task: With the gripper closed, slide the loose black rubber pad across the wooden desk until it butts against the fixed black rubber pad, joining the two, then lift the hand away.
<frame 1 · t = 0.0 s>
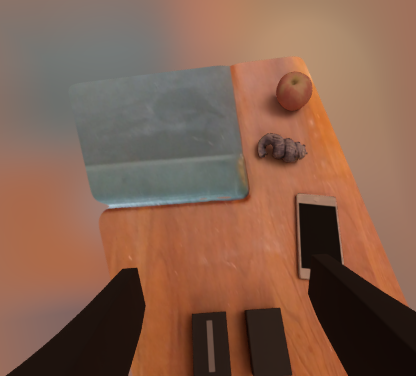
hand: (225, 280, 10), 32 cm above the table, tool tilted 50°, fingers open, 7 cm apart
smartphone: (317, 235, 43), on the table
pad: (264, 339, 36), on the table
apple: (288, 106, 58), on the table
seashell: (279, 155, 52), on the table
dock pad: (211, 342, 36), on the table
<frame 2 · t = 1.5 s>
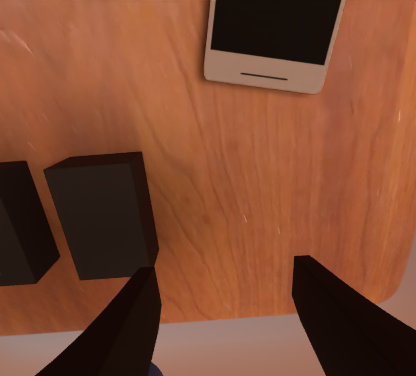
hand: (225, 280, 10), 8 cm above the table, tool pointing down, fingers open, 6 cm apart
pad: (117, 206, 18), on the table
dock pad: (11, 215, 18), on the table
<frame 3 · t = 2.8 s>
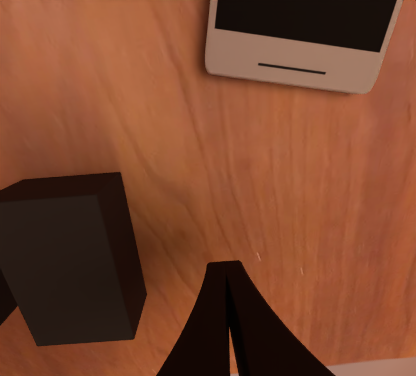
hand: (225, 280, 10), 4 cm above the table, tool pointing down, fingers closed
pad: (91, 242, 14), on the table
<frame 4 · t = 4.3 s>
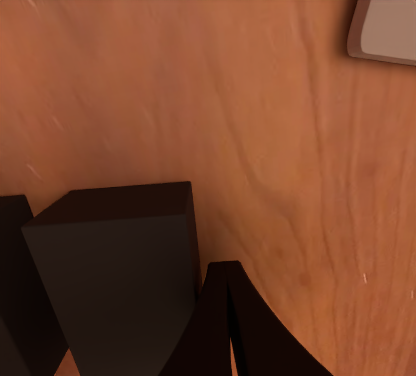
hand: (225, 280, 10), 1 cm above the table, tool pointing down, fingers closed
pad: (146, 264, 11), on the table, touching gripper
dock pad: (2, 275, 12), on the table
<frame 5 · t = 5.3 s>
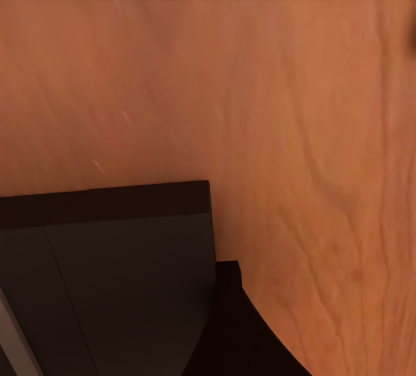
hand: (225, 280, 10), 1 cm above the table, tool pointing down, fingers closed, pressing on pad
pad: (162, 264, 11), on the table, touching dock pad, gripper
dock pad: (57, 272, 11), on the table
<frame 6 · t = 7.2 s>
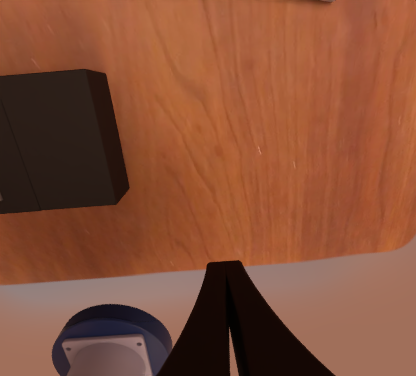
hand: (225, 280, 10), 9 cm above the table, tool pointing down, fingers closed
pad: (84, 138, 17), on the table
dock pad: (14, 144, 17), on the table
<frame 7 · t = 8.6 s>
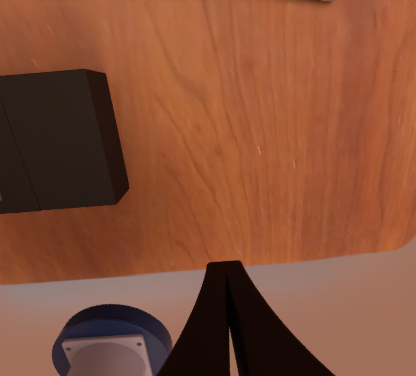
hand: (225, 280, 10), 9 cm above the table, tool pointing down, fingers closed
pad: (83, 138, 17), on the table
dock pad: (14, 144, 17), on the table
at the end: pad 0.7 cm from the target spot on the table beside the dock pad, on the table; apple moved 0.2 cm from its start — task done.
